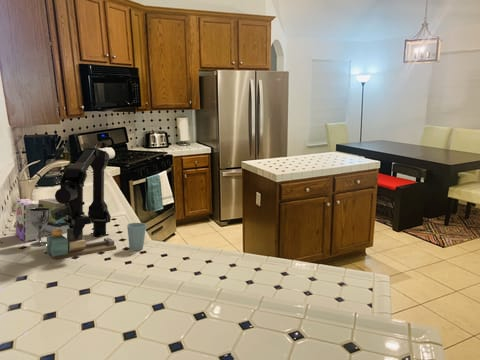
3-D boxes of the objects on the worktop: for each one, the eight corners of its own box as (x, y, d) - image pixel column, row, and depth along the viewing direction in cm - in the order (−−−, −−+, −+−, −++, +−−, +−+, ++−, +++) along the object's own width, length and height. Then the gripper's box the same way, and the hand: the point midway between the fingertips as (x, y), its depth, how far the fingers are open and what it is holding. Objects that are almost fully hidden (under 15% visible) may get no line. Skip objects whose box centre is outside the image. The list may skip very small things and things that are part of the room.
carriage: (63, 247, 143) (64, 227, 143) (79, 245, 147) (79, 226, 147) (69, 252, 138) (69, 231, 137) (85, 249, 142) (85, 229, 142)
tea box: (75, 231, 174) (75, 200, 172) (55, 235, 165) (55, 203, 164) (57, 225, 182) (57, 196, 180) (37, 229, 173) (37, 199, 171)
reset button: (50, 233, 138) (50, 230, 138) (60, 232, 140) (60, 229, 140) (53, 236, 135) (53, 232, 135) (63, 234, 138) (63, 231, 137)
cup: (142, 245, 157) (143, 222, 156) (147, 250, 150) (148, 226, 149) (125, 247, 153) (125, 223, 152) (129, 252, 146) (129, 227, 145)
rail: (46, 252, 141) (46, 235, 140) (106, 243, 157) (106, 227, 156) (54, 259, 133) (54, 241, 133) (116, 249, 150) (116, 232, 149)
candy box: (15, 235, 161) (14, 199, 160) (29, 233, 166) (29, 198, 164) (24, 242, 152) (23, 204, 150) (39, 240, 156) (39, 203, 154)
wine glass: (35, 248, 145) (35, 211, 144) (25, 244, 149) (24, 208, 148) (54, 243, 152) (54, 209, 150) (44, 240, 156) (43, 206, 154)
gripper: (45, 197, 142) (45, 235, 144) (60, 204, 128) (60, 247, 130) (74, 195, 150) (74, 231, 151) (91, 202, 136) (91, 242, 138)
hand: (74, 237), depth 142 cm, fingers closed on carriage, 3 cm apart
